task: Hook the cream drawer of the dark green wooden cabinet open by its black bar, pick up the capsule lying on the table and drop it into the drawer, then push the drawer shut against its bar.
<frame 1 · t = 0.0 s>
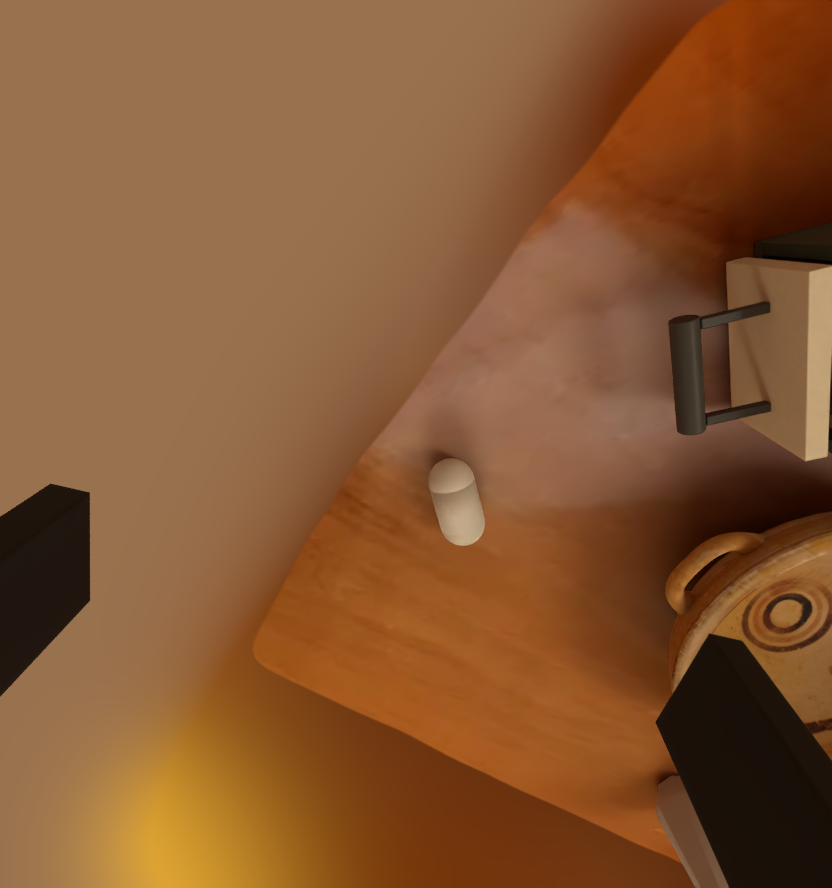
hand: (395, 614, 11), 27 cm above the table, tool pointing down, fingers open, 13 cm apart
salt shaker: (676, 786, 52), on the table
capsule: (456, 491, 40), on the table
ceramic bowl: (782, 596, 43), on the table
drawer: (828, 341, 30), point 5 cm above the table, slide at 1.0 cm
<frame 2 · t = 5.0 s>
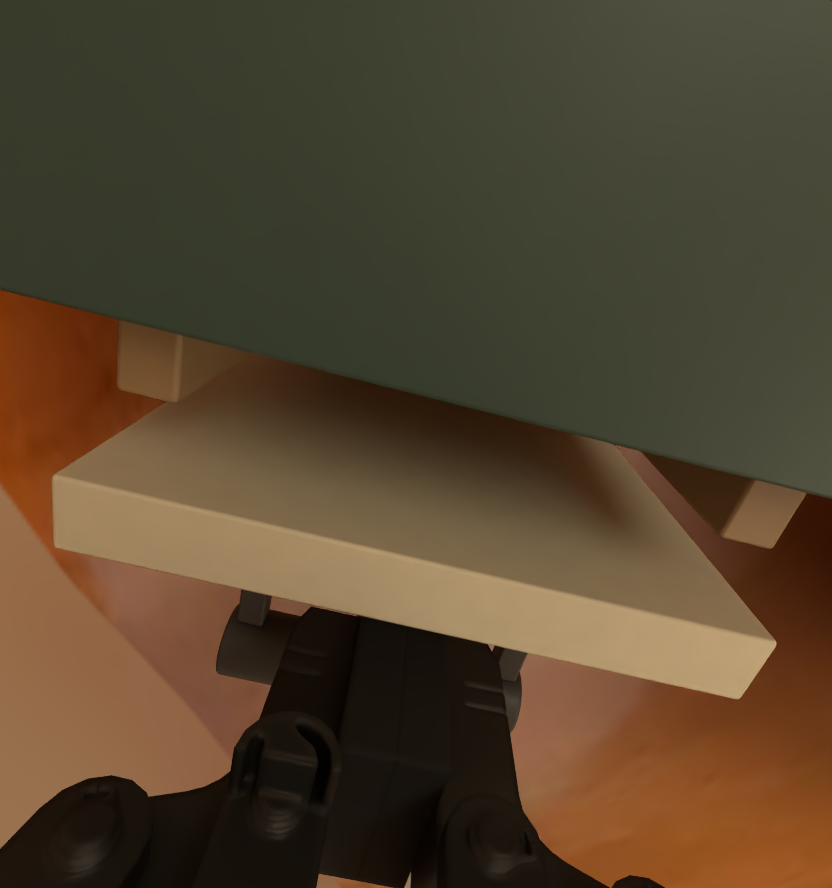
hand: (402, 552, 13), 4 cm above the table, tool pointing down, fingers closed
drawer: (465, 338, 10), point 5 cm above the table, slide at 2.6 cm, touching gripper
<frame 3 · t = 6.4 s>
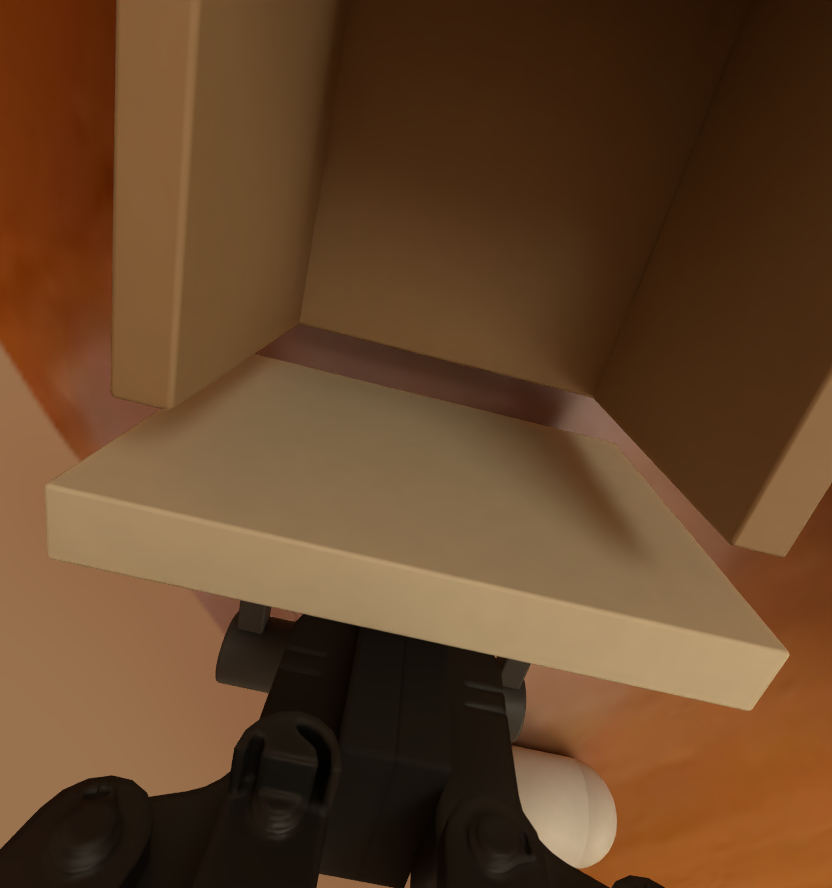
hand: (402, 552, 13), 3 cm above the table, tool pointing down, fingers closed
capsule: (515, 757, 21), on the table
drawer: (467, 341, 10), point 5 cm above the table, slide at 8.2 cm, touching gripper
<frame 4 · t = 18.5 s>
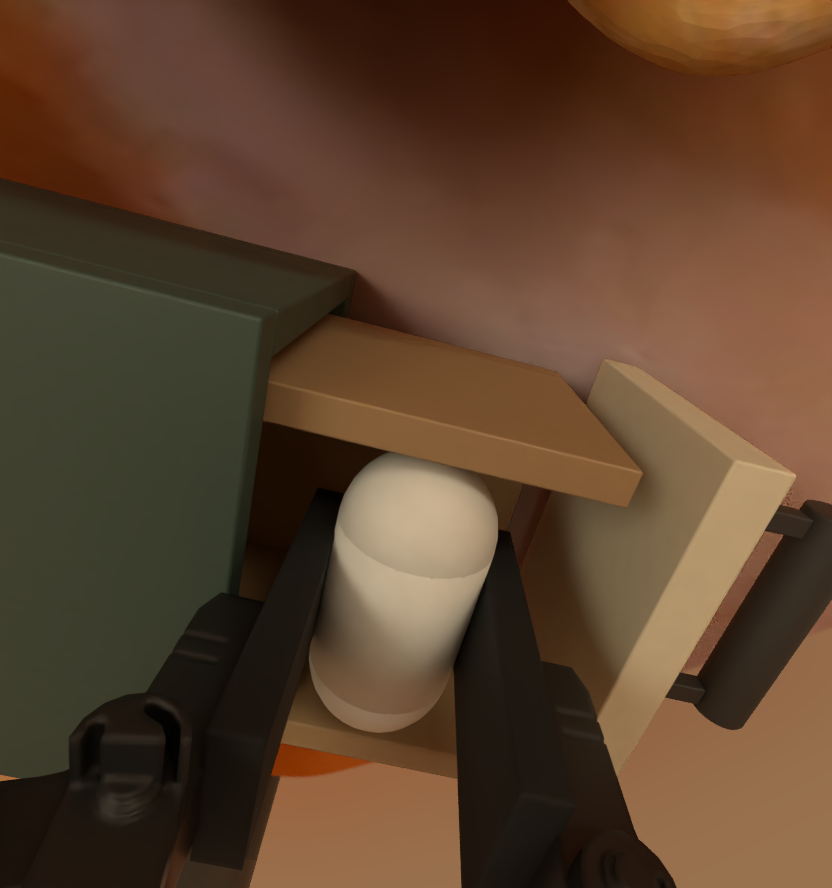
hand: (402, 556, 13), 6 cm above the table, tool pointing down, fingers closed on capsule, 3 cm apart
cabinet: (136, 389, 18), on the table
capsule: (402, 549, 13), point 6 cm above the table, touching gripper
drawer: (493, 546, 14), point 5 cm above the table, slide at 8.2 cm
when the fingers open (6 cm above the table, at t = 19.5 s): capsule drops 2 cm and tips over, resting on drawer.
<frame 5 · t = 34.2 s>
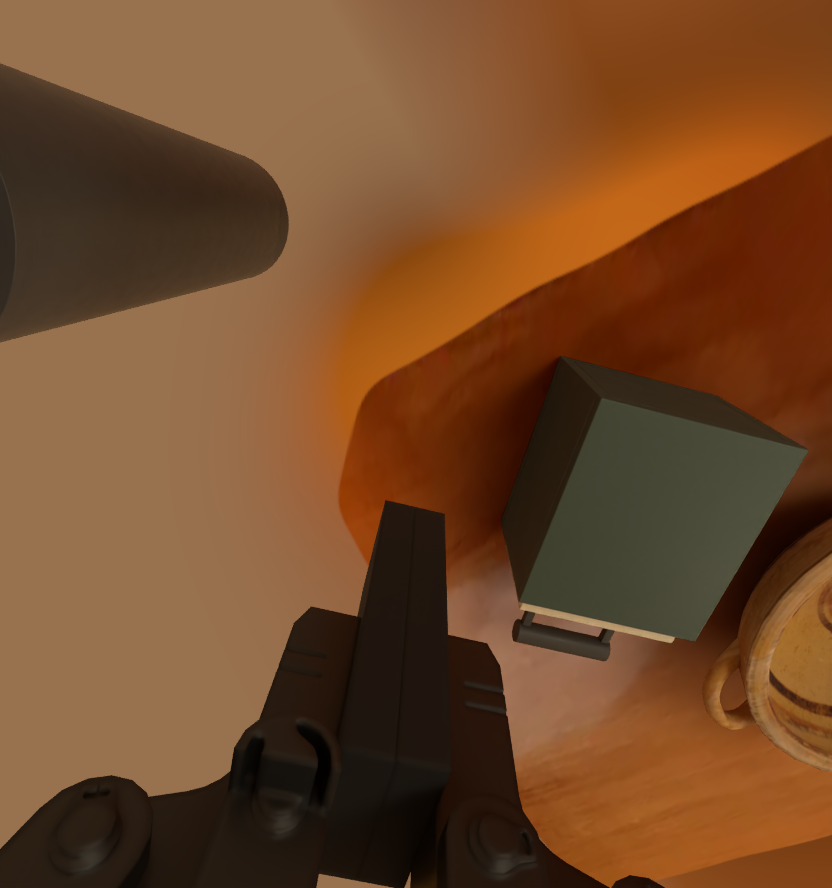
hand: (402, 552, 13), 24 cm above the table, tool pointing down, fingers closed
cabinet: (603, 462, 38), on the table
drawer: (599, 547, 36), point 5 cm above the table, slide at 0.0 cm, touching cabinet, capsule
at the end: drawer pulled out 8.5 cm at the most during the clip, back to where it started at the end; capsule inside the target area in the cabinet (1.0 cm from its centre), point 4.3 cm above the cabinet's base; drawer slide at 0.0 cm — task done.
